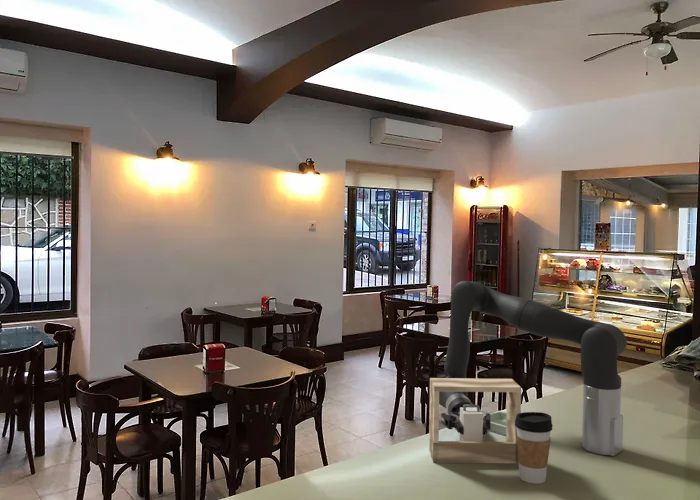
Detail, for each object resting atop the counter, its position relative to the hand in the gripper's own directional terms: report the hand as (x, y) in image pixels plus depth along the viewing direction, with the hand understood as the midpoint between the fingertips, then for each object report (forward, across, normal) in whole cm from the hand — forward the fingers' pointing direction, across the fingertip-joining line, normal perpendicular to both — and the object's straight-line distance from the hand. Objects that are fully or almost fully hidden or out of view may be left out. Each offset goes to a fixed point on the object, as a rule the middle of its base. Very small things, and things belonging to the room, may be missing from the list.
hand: (473, 430), depth 146 cm
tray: (-21, +14, +7) cm, 26 cm away
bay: (0, 0, +6) cm, 7 cm away
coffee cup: (+13, +11, +7) cm, 18 cm away
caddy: (-3, 0, +6) cm, 7 cm away
